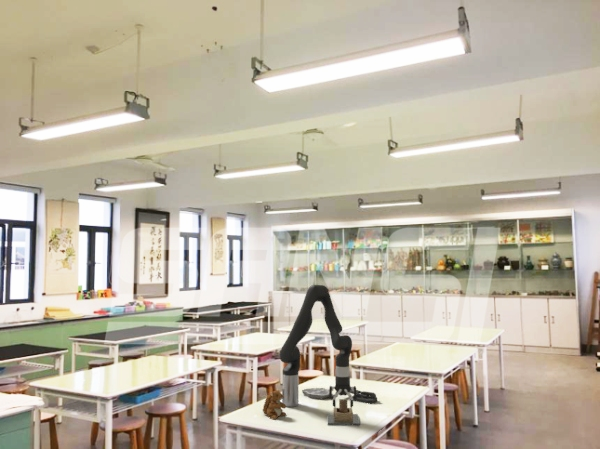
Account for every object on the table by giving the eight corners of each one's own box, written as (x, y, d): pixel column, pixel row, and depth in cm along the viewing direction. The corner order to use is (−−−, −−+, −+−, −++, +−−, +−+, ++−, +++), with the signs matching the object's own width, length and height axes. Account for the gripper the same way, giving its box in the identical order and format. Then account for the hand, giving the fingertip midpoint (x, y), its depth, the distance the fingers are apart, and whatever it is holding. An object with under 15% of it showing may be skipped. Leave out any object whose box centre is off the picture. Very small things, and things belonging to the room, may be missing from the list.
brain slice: (339, 396, 296) (339, 391, 296) (321, 401, 283) (321, 396, 283) (315, 391, 308) (315, 386, 309) (297, 396, 296) (297, 391, 296)
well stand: (327, 425, 237) (327, 414, 237) (327, 415, 253) (327, 406, 253) (360, 425, 236) (359, 415, 237) (357, 416, 252) (357, 406, 253)
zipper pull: (342, 384, 297) (379, 389, 283) (342, 395, 296) (379, 401, 282) (335, 387, 289) (372, 392, 276) (335, 398, 289) (372, 404, 275)
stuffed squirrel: (275, 420, 245) (275, 394, 247) (257, 415, 255) (257, 389, 256) (289, 416, 253) (289, 390, 254) (270, 411, 262) (270, 386, 264)
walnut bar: (339, 419, 243) (339, 401, 244) (339, 417, 247) (339, 399, 248) (347, 419, 243) (347, 401, 244) (347, 417, 247) (346, 399, 247)
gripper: (329, 376, 244) (329, 409, 242) (356, 376, 243) (357, 409, 241) (328, 373, 251) (329, 405, 249) (355, 373, 250) (356, 405, 249)
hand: (343, 407), depth 245 cm, fingers open, 8 cm apart
